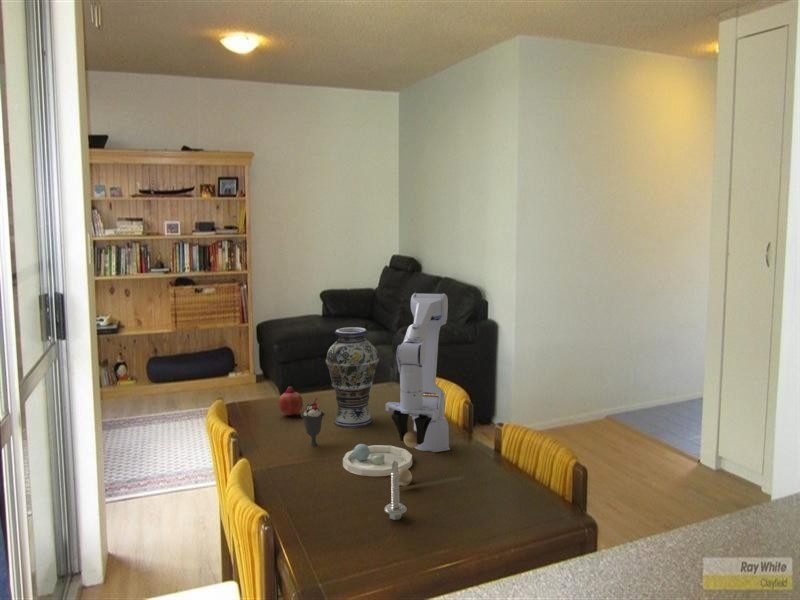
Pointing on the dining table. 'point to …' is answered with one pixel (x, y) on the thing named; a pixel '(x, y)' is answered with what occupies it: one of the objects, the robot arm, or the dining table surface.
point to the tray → (378, 468)
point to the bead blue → (361, 452)
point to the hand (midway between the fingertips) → (412, 441)
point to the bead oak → (411, 438)
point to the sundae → (313, 421)
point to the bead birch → (404, 477)
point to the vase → (352, 376)
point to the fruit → (290, 402)
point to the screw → (395, 495)
